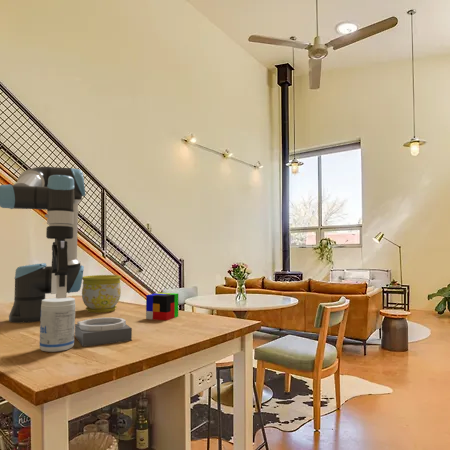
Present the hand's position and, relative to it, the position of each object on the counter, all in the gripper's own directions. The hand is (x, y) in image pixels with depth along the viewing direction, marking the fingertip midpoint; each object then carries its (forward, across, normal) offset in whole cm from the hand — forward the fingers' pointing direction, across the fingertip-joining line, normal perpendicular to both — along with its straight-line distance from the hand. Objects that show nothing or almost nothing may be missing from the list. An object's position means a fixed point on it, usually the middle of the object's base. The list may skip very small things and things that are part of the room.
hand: (58, 296), depth 113 cm
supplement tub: (+16, 0, 0) cm, 16 cm away
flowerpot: (+15, -64, +26) cm, 70 cm away
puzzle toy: (+16, -32, +45) cm, 57 cm away
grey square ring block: (+16, -6, +15) cm, 22 cm away
